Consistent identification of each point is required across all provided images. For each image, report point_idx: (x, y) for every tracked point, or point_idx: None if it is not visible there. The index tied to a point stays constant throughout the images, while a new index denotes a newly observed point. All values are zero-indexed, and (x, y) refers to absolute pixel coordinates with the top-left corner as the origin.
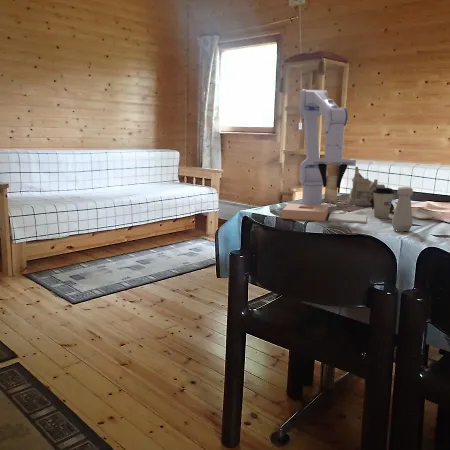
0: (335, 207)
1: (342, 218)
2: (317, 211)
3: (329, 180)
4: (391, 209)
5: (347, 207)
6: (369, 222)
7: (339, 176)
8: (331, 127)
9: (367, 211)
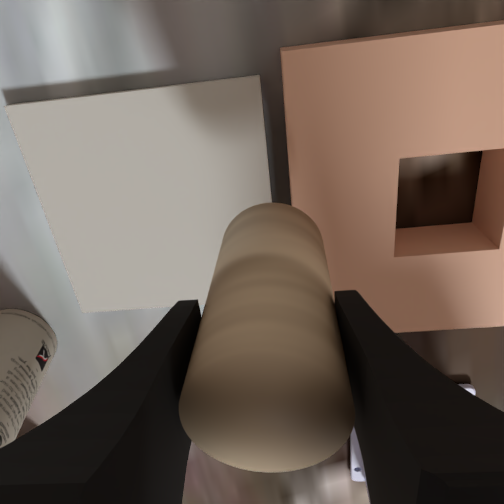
0: (290, 475)
1: (173, 147)
2: (348, 51)
3: (290, 318)
4: None
5: (238, 490)
6: (9, 151)
7: (143, 377)
8: None
9: None
